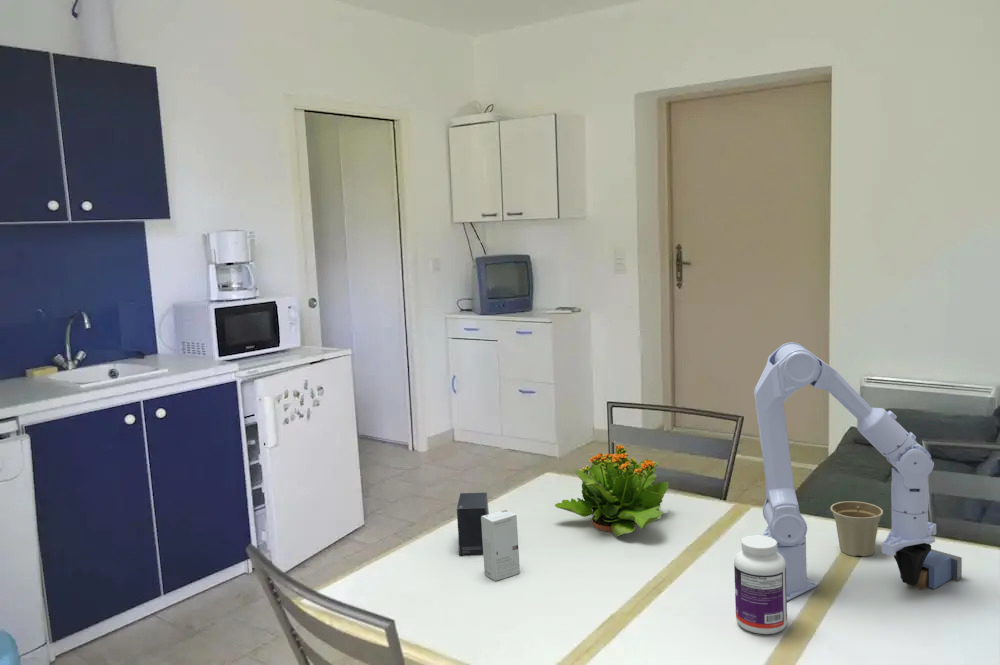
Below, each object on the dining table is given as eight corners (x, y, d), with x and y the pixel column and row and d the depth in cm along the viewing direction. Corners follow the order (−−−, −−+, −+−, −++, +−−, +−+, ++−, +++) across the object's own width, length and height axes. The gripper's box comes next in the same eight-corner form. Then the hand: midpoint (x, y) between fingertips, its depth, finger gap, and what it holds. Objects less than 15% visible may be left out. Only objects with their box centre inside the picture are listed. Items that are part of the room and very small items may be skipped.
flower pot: (877, 564, 149) (876, 520, 148) (825, 555, 155) (824, 512, 154) (888, 547, 157) (887, 505, 156) (838, 538, 162) (837, 498, 161)
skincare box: (495, 582, 152) (491, 522, 151) (483, 574, 156) (479, 516, 155) (521, 573, 156) (517, 514, 154) (509, 566, 160) (505, 508, 158)
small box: (489, 554, 166) (486, 506, 165) (458, 556, 166) (455, 508, 165) (491, 536, 177) (487, 490, 175) (462, 537, 177) (458, 492, 176)
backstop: (957, 581, 140) (957, 560, 140) (912, 567, 147) (912, 547, 146) (961, 578, 141) (961, 557, 141) (916, 565, 148) (916, 544, 147)
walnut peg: (923, 589, 138) (923, 573, 138) (906, 584, 140) (906, 568, 140) (939, 579, 142) (939, 563, 141) (922, 574, 144) (922, 558, 144)
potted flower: (546, 540, 172) (541, 462, 170) (568, 504, 194) (564, 435, 192) (662, 546, 164) (658, 465, 162) (671, 508, 187) (668, 436, 185)
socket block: (934, 588, 138) (934, 566, 137) (900, 577, 143) (900, 556, 142) (951, 578, 141) (951, 557, 141) (917, 568, 146) (917, 547, 146)
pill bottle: (747, 609, 135) (744, 528, 134) (794, 621, 130) (792, 537, 128) (728, 628, 129) (725, 544, 127) (776, 642, 124) (774, 554, 122)
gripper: (910, 525, 130) (910, 603, 131) (954, 504, 138) (953, 578, 140) (869, 514, 136) (870, 589, 137) (913, 494, 144) (913, 566, 145)
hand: (909, 583), depth 139 cm, fingers closed
